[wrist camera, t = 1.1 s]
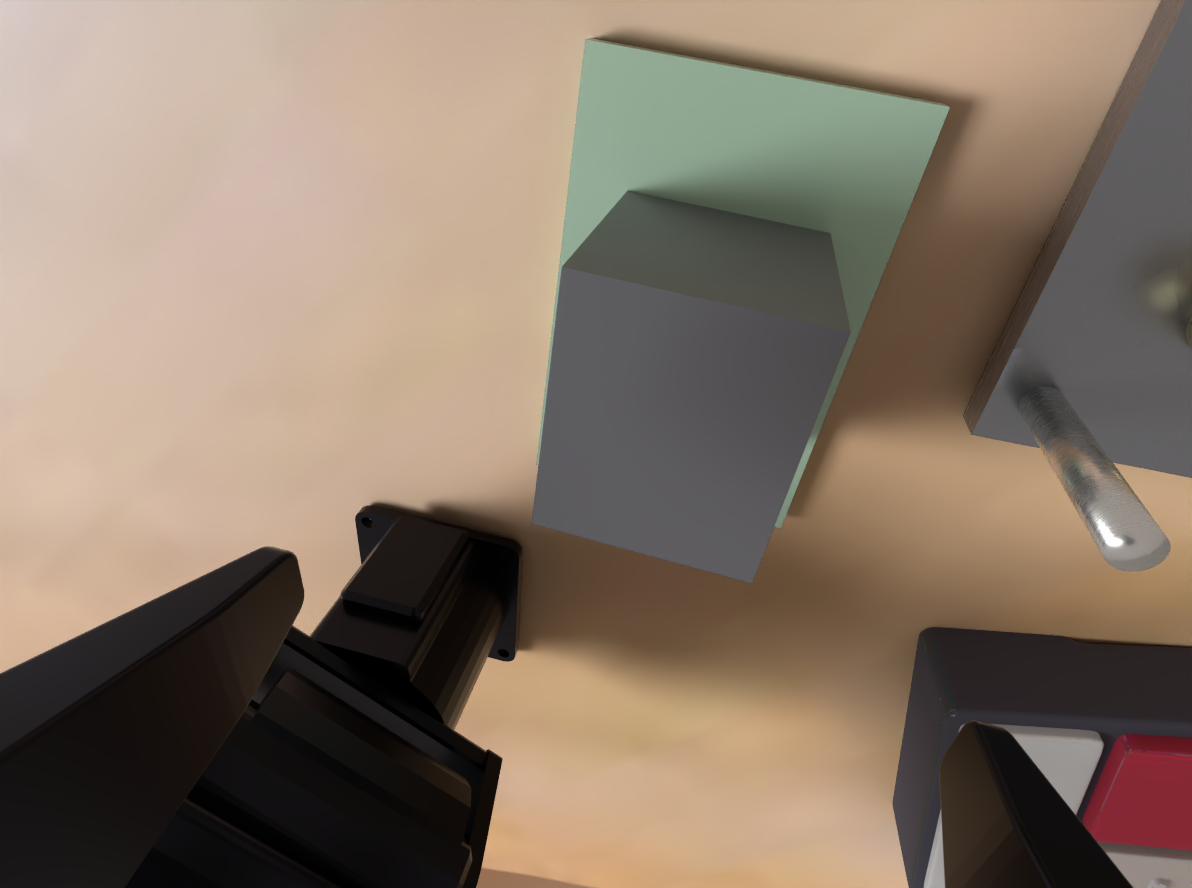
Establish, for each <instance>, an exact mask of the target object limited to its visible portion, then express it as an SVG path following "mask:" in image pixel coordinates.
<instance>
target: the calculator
mask: <svg viewBox="0 0 1192 888" xmlns="http://www.w3.org/2000/svg"><path fill="white" fill-rule="evenodd" d="M971 720H975V721H980V722H984V723H988V724H992V725H996V726H1000V727H1002V728H1004V729H1006V730H1007V731H1008V732H1010V733H1011V734H1012V735H1013V736H1014V738H1015V739H1016V740H1017V741H1018V743H1019V744H1020V745H1021V746H1022V748H1023V749H1024V750H1025V752H1026V753H1027V754H1028V755H1029V757H1030V758H1031V759H1032V760H1033V762H1034V763H1035V764H1036V765H1037V767H1038V768H1039V769H1040V770H1041V772H1042V773H1043V774H1044V775H1045V777H1046V778H1047V779H1048V781H1049V782H1050V783H1051V784H1052V786H1053V787H1054V788H1055V789H1056V791H1057V792H1058V793H1059V794H1060V796H1061V797H1062V798H1063V799H1064V801H1065V802H1066V803H1067V804H1068V806H1069V807H1070V808H1071V810H1072V811H1073V812H1074V813H1075V815H1076V816H1077V817H1078V818H1079V820H1080V821H1081V822H1082V823H1083V825H1084V826H1085V827H1086V828H1087V830H1088V831H1089V832H1090V833H1091V835H1092V836H1093V837H1094V839H1095V840H1096V841H1097V842H1098V844H1099V845H1100V846H1101V847H1102V849H1103V850H1104V851H1105V852H1106V854H1107V855H1108V856H1109V857H1110V859H1111V860H1112V861H1113V862H1114V864H1115V865H1116V866H1117V868H1118V869H1119V870H1120V871H1121V873H1122V874H1123V875H1124V876H1125V878H1126V879H1127V880H1128V881H1129V883H1130V884H1131V885H1132V886H1133V888H1192V648H1189V647H1163V646H1137V645H1112V644H1090V643H1080V642H1078V641H1075V640H1072V639H1070V638H1067V637H1064V636H1054V635H1041V634H1027V633H1013V632H999V631H985V630H971V629H957V628H941V627H931V628H927V629H925V630H923V631H922V632H921V633H920V635H919V640H918V645H917V652H916V658H915V664H914V671H913V677H912V683H911V690H910V696H909V702H908V709H907V715H906V721H905V728H904V734H903V740H902V747H901V753H900V759H899V765H898V772H897V778H896V784H895V791H894V797H893V809H894V814H895V819H896V824H897V830H898V835H899V840H900V845H901V850H902V855H903V861H904V866H905V871H906V876H907V881H908V885H909V888H945V880H944V860H943V840H942V821H941V801H940V781H939V771H940V764H941V760H942V757H943V755H944V754H945V752H946V751H947V749H948V748H949V746H950V745H951V743H952V742H953V740H954V739H955V737H956V736H957V734H958V733H959V731H960V730H961V728H962V727H963V726H964V724H965V723H967V722H969V721H971Z"/></svg>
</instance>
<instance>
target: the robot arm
mask: <svg viewBox="0 0 1192 888" xmlns="http://www.w3.org/2000/svg"><path fill="white" fill-rule="evenodd" d="M370 519H371V520H370ZM355 521H356V528H357V535H358V543H359V550H360V557H361V564H362V565H361V566H360V567H359V569H358V570H357V571H356V573H355V574H354V575H353V577H352V578H351V579H350V581H349V582H348V583H347V585H346V586H345V587H344V589H343V590H342V592H341V595H340V597H339V598H338V599H337V601H336V602H335V603H334V605H333V606H332V607H331V609H330V610H329V611H328V613H327V614H326V615H325V617H324V618H323V619H322V621H321V622H320V623H319V625H318V626H317V627H316V629H315V630H314V631H313V633H312V634H311V635H310V637H309V636H308V635H306V634H305V633H303V632H302V631H300V630H299V629H297V628H296V627H294V626H293V625H292V624H293V623H294V621H295V619H296V617H297V615H298V613H299V612H300V609H301V607H302V604H303V601H304V588H303V583H302V579H301V574H300V569H299V565H298V560H297V557H296V556H295V555H294V553H293V552H290V551H287V550H283V549H279V548H275V547H269V546H268V547H262V548H260V549H257V550H255V551H253V552H251V553H249V554H247V555H245V556H243V557H241V558H239V559H236V560H234V561H232V562H230V563H228V564H226V565H224V566H222V567H220V568H218V569H216V570H214V571H212V572H210V573H207V574H205V575H203V576H201V577H199V578H197V579H195V580H193V581H191V582H189V583H187V584H185V585H183V586H181V587H178V588H176V589H174V590H172V591H170V592H168V593H166V594H164V595H162V596H160V597H158V598H156V599H154V600H152V601H150V602H147V603H145V604H143V605H141V606H139V607H137V608H135V609H133V610H131V611H129V612H127V613H125V614H123V615H121V616H118V617H116V618H114V619H112V620H110V621H108V622H106V623H104V624H102V625H100V626H98V627H96V628H94V629H92V630H89V631H87V632H85V633H83V634H81V635H79V636H77V637H75V638H73V639H71V640H69V641H67V642H65V643H63V644H60V645H58V646H56V647H54V648H52V649H50V650H48V651H46V652H44V653H42V654H40V655H38V656H36V657H34V658H31V659H29V660H27V661H25V662H23V663H21V664H19V665H17V666H15V667H13V668H11V669H9V670H7V671H5V672H2V673H0V888H476V886H477V882H478V878H479V875H480V871H481V867H482V862H483V856H484V851H485V846H486V841H487V836H488V831H489V826H490V820H491V815H492V810H493V805H494V800H495V795H496V790H497V785H498V779H499V774H500V769H501V764H502V758H501V757H500V756H498V755H497V754H495V753H494V752H492V751H491V750H489V749H488V750H486V751H485V750H484V749H482V748H481V747H479V746H478V745H476V744H474V743H473V742H471V741H470V740H468V739H467V738H465V737H464V736H462V735H461V734H459V733H457V732H456V731H454V729H455V727H456V725H457V723H458V720H459V718H460V716H461V714H462V712H463V709H464V707H465V705H466V703H467V701H468V698H469V696H470V694H471V692H472V690H473V687H474V685H475V683H476V681H477V679H478V677H479V674H480V672H481V670H482V668H483V666H484V663H485V661H486V659H487V657H490V658H494V659H498V660H501V661H507V662H508V661H512V660H513V659H514V658H515V655H516V653H517V650H518V641H519V620H520V599H521V577H522V556H523V551H522V547H521V546H520V544H519V543H517V542H516V541H514V540H512V539H509V538H505V537H500V536H496V535H492V534H488V533H483V532H479V531H475V530H471V529H467V528H462V527H458V526H454V525H450V524H446V523H441V522H437V521H433V520H429V519H425V518H420V517H416V516H412V515H408V514H403V513H399V512H395V511H391V510H387V509H382V508H378V507H374V506H364V507H363V508H362V509H361V510H360V511H359V513H358V514H357V515H356V518H355ZM505 551H508V552H510V553H511V554H509V553H506V552H505ZM939 781H940V801H941V821H942V840H943V860H944V880H945V888H1133V886H1132V885H1131V884H1130V883H1129V881H1128V880H1127V879H1126V878H1125V876H1124V875H1123V874H1122V873H1121V871H1120V870H1119V869H1118V868H1117V866H1116V865H1115V864H1114V862H1113V861H1112V860H1111V859H1110V857H1109V856H1108V855H1107V854H1106V852H1105V851H1104V850H1103V849H1102V847H1101V846H1100V845H1099V844H1098V842H1097V841H1096V840H1095V839H1094V837H1093V836H1092V835H1091V833H1090V832H1089V831H1088V830H1087V828H1086V827H1085V826H1084V825H1083V823H1082V822H1081V821H1080V820H1079V818H1078V817H1077V816H1076V815H1075V813H1074V812H1073V811H1072V810H1071V808H1070V807H1069V806H1068V804H1067V803H1066V802H1065V801H1064V799H1063V798H1062V797H1061V796H1060V794H1059V793H1058V792H1057V791H1056V789H1055V788H1054V787H1053V786H1052V784H1051V783H1050V782H1049V781H1048V779H1047V778H1046V777H1045V775H1044V774H1043V773H1042V772H1041V770H1040V769H1039V768H1038V767H1037V765H1036V764H1035V763H1034V762H1033V760H1032V759H1031V758H1030V757H1029V755H1028V754H1027V753H1026V752H1025V750H1024V749H1023V748H1022V746H1021V745H1020V744H1019V743H1018V741H1017V740H1016V739H1015V738H1014V736H1013V735H1012V734H1011V733H1010V732H1008V731H1007V730H1006V729H1004V728H1002V727H1000V726H996V725H992V724H988V723H984V722H980V721H975V720H971V721H969V722H967V723H965V724H964V726H963V727H962V728H961V730H960V731H959V733H958V734H957V736H956V737H955V739H954V740H953V742H952V743H951V745H950V746H949V748H948V749H947V751H946V752H945V754H944V755H943V757H942V760H941V764H940V771H939Z"/></svg>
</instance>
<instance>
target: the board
mask: <svg viewBox="0 0 1192 888" xmlns="http://www.w3.org/2000/svg"><path fill="white" fill-rule="evenodd" d="M949 109H950V107H949V106H947V105H946V104H944V103H940V102H934V101H929V100H923V99H918V98H913V97H907V96H902V95H896V94H891V93H886V92H880V91H875V90H869V89H864V88H859V87H853V86H848V85H842V84H837V83H832V82H826V81H821V80H815V79H810V78H805V77H799V76H794V75H788V74H783V73H778V72H772V71H767V70H761V69H756V68H751V67H745V66H740V65H734V64H729V63H724V62H718V61H713V60H707V59H702V58H697V57H691V56H686V55H680V54H675V53H669V52H664V51H659V50H653V49H648V48H642V47H637V46H632V45H626V44H621V43H615V42H610V41H605V40H599V39H594V38H591V39H585V46H584V55H583V63H582V72H581V81H580V89H579V98H578V107H577V116H576V124H575V133H574V142H573V150H572V159H571V168H570V177H569V185H568V194H567V203H566V211H565V220H564V229H563V238H562V246H561V255H560V264H559V272H558V281H557V290H556V299H555V307H554V316H553V325H552V333H551V342H550V351H549V360H548V368H547V377H546V386H545V394H544V403H543V412H542V421H541V429H540V438H539V447H538V455H537V464H536V465H538V474H537V482H536V491H535V499H534V508H533V516H532V524H534V525H538V526H542V527H545V528H549V529H553V530H556V531H560V532H564V533H568V534H571V535H575V536H579V537H582V538H586V539H590V540H593V541H597V542H601V543H604V544H608V545H612V546H615V547H619V548H623V549H626V550H630V551H634V552H638V553H641V554H645V555H649V556H652V557H656V558H660V559H663V560H667V561H671V562H674V563H678V564H682V565H685V566H689V567H693V568H696V569H700V570H704V571H707V572H711V573H715V574H719V575H722V576H726V577H730V578H733V579H737V580H741V581H744V582H748V583H752V582H753V579H754V577H755V574H756V572H757V569H758V567H759V564H760V562H761V559H762V557H763V554H764V551H765V549H766V546H767V544H768V541H769V539H770V536H771V534H772V531H773V529H774V527H777V528H780V529H781V526H782V524H783V521H784V519H785V516H786V514H787V511H788V509H789V506H790V504H791V502H792V499H793V497H794V494H795V492H796V489H797V487H798V484H799V482H800V479H801V477H802V474H803V472H804V469H805V467H806V464H807V462H808V459H809V457H810V454H811V452H812V449H813V447H814V444H815V442H816V439H817V437H818V434H819V432H820V429H821V427H822V424H823V422H824V419H825V417H826V415H827V412H828V410H829V407H830V405H831V402H832V400H833V397H834V395H835V392H836V390H837V387H838V385H839V382H840V380H841V377H842V375H843V372H844V370H845V367H846V365H847V362H848V360H849V357H850V355H851V352H852V350H853V347H854V345H855V342H856V340H857V337H858V335H859V332H860V330H861V328H862V325H863V323H864V320H865V318H866V315H867V313H868V310H869V308H870V305H871V303H872V300H873V298H874V295H875V293H876V290H877V288H878V285H879V283H880V280H881V278H882V275H883V273H884V270H885V268H886V265H887V263H888V260H889V258H890V255H891V253H892V250H893V248H894V245H895V243H896V241H897V238H898V236H899V233H900V231H901V228H902V226H903V223H904V221H905V218H906V216H907V213H908V211H909V208H910V206H911V203H912V201H913V198H914V196H915V193H916V191H917V188H918V186H919V183H920V181H921V178H922V176H923V173H924V171H925V168H926V166H927V163H928V161H929V158H930V156H931V154H932V151H933V149H934V146H935V144H936V141H937V139H938V136H939V134H940V131H941V129H942V126H943V124H944V121H945V119H946V116H947V114H948V111H949Z"/></svg>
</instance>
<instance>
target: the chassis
mask: <svg viewBox="0 0 1192 888" xmlns="http://www.w3.org/2000/svg"><path fill="white" fill-rule="evenodd" d="M963 417H964V419H965V421H966V423H967V426H968V428H969V430H970V432H971V435H976V436H981V437H986V438H991V439H996V440H1001V441H1006V442H1011V443H1017V444H1022V445H1027V446H1032V447H1037V448H1041V450H1042V452H1043V454H1044V455H1045V457H1046V459H1047V460H1048V462H1049V464H1050V466H1051V467H1052V469H1053V471H1054V472H1055V474H1056V476H1057V478H1058V479H1059V481H1060V483H1061V485H1062V486H1063V488H1064V490H1065V491H1066V493H1067V495H1068V497H1069V498H1070V500H1071V502H1072V503H1073V505H1074V507H1075V509H1076V510H1077V512H1078V514H1079V515H1080V517H1081V519H1082V521H1083V522H1084V524H1085V526H1086V527H1087V529H1088V531H1089V533H1090V534H1091V536H1092V538H1093V539H1094V541H1095V543H1096V545H1097V546H1098V548H1099V550H1100V551H1101V553H1102V555H1103V557H1104V558H1105V560H1106V561H1107V563H1108V564H1109V565H1111V566H1112V567H1114V568H1116V569H1119V570H1123V571H1141V570H1145V569H1149V568H1151V567H1154V566H1156V565H1158V564H1159V563H1161V562H1162V561H1163V560H1164V559H1165V558H1166V557H1167V556H1168V554H1169V552H1170V542H1169V540H1168V538H1167V537H1166V536H1165V534H1164V533H1163V532H1162V530H1161V529H1160V527H1159V526H1158V525H1157V523H1156V522H1155V520H1154V519H1153V518H1152V516H1151V515H1150V514H1149V512H1148V511H1147V509H1146V508H1145V507H1144V505H1143V504H1142V502H1141V501H1140V500H1139V498H1138V497H1137V496H1136V494H1135V493H1134V491H1133V490H1132V489H1131V487H1130V486H1129V485H1128V483H1127V482H1126V480H1125V479H1124V478H1123V476H1122V475H1121V473H1120V472H1119V471H1118V469H1117V468H1116V467H1115V465H1114V464H1113V462H1114V463H1119V464H1124V465H1129V466H1134V467H1139V468H1144V469H1149V470H1155V471H1160V472H1165V473H1170V474H1175V475H1180V476H1185V477H1190V478H1192V0H1161V2H1160V5H1159V7H1158V9H1157V11H1156V13H1155V15H1154V17H1153V19H1152V21H1151V23H1150V25H1149V28H1148V30H1147V32H1146V34H1145V36H1144V38H1143V40H1142V42H1141V44H1140V46H1139V49H1138V51H1137V53H1136V55H1135V57H1134V59H1133V61H1132V63H1131V65H1130V67H1129V69H1128V72H1127V74H1126V76H1125V78H1124V80H1123V82H1122V84H1121V86H1120V88H1119V90H1118V92H1117V95H1116V97H1115V99H1114V101H1113V103H1112V105H1111V107H1110V109H1109V111H1108V113H1107V115H1106V118H1105V120H1104V122H1103V124H1102V126H1101V128H1100V130H1099V132H1098V134H1097V136H1096V139H1095V141H1094V143H1093V145H1092V147H1091V149H1090V151H1089V153H1088V155H1087V157H1086V159H1085V162H1084V164H1083V166H1082V168H1081V170H1080V172H1079V174H1078V176H1077V178H1076V180H1075V182H1074V185H1073V187H1072V189H1071V191H1070V193H1069V195H1068V197H1067V199H1066V201H1065V203H1064V205H1063V208H1062V210H1061V212H1060V214H1059V216H1058V218H1057V220H1056V222H1055V224H1054V226H1053V229H1052V231H1051V233H1050V235H1049V237H1048V239H1047V241H1046V243H1045V245H1044V247H1043V249H1042V252H1041V254H1040V256H1039V258H1038V260H1037V262H1036V264H1035V266H1034V268H1033V270H1032V272H1031V275H1030V277H1029V279H1028V281H1027V283H1026V285H1025V287H1024V289H1023V291H1022V293H1021V295H1020V298H1019V300H1018V302H1017V304H1016V306H1015V308H1014V310H1013V312H1012V314H1011V316H1010V319H1009V321H1008V323H1007V325H1006V327H1005V329H1004V331H1003V333H1002V335H1001V337H1000V339H999V342H998V344H997V346H996V348H995V350H994V352H993V354H992V356H991V358H990V360H989V362H988V365H987V367H986V369H985V371H984V373H983V375H982V377H981V379H980V381H979V383H978V385H977V388H976V390H975V392H974V394H973V396H972V398H971V400H970V402H969V404H968V406H967V409H966V411H965V413H964V415H963Z"/></svg>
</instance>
